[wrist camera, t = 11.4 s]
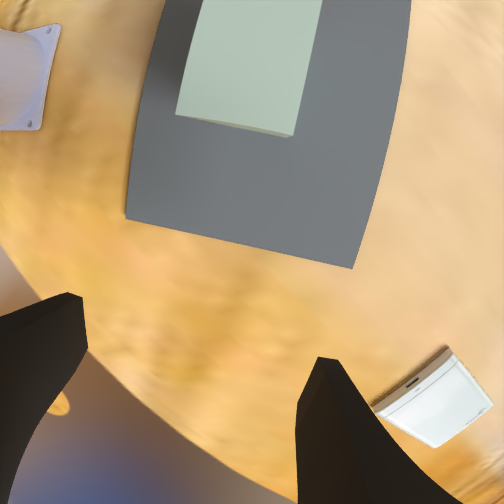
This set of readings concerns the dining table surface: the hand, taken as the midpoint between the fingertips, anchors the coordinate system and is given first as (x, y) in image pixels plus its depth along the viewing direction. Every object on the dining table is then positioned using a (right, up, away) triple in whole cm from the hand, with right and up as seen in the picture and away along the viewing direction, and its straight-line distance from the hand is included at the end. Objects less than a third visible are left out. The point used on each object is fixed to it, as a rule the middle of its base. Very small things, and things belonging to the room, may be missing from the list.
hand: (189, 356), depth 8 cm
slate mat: (+3, +12, +6) cm, 14 cm away
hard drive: (+19, -11, +14) cm, 26 cm away
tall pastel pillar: (+3, +12, +6) cm, 14 cm away
